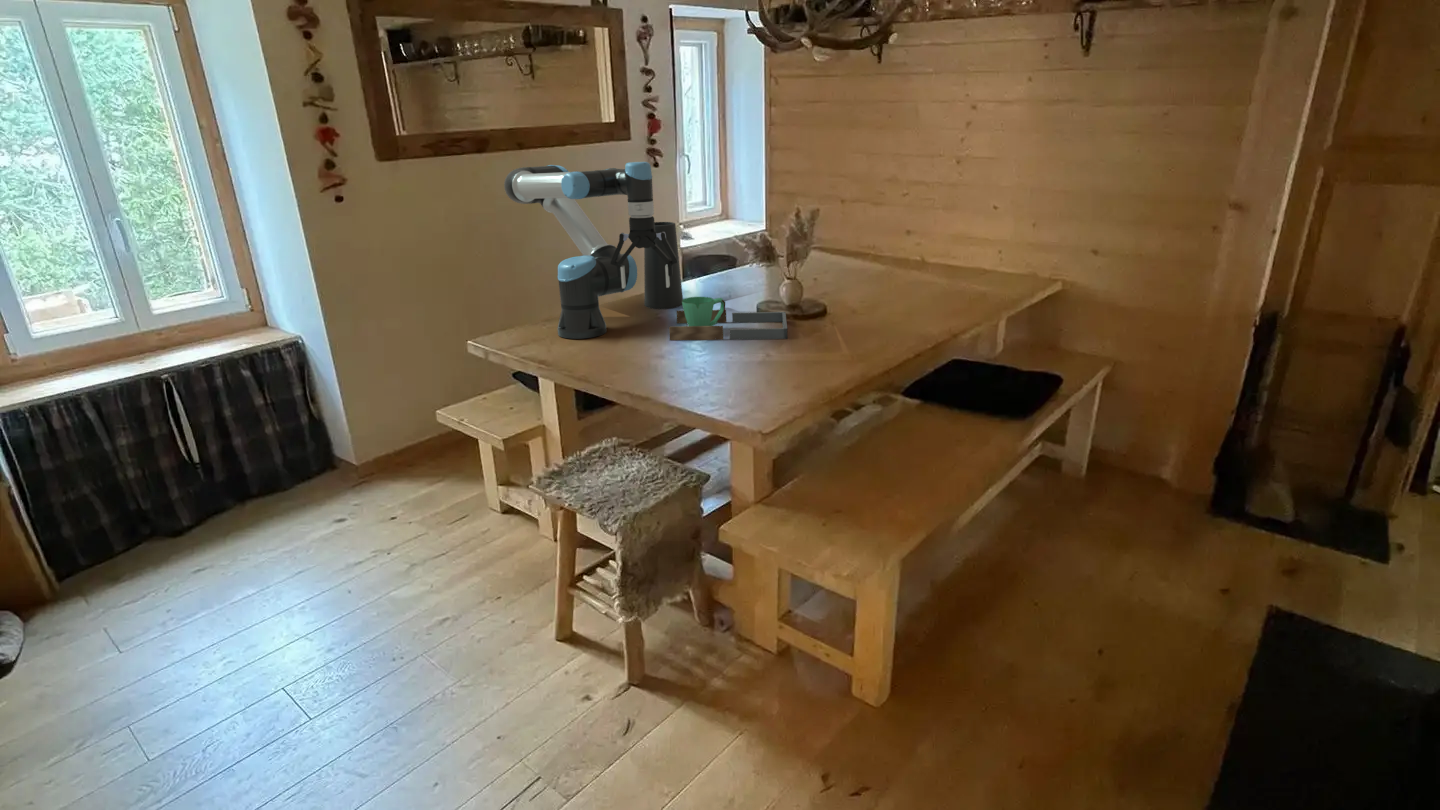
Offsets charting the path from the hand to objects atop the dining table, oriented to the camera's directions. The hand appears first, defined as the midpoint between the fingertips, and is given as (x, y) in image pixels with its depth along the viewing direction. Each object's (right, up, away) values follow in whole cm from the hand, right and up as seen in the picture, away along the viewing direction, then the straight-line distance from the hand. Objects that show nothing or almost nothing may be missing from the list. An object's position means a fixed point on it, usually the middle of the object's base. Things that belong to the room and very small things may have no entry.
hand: (645, 287), depth 243 cm
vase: (+3, -2, +37) cm, 37 cm away
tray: (+35, -13, +3) cm, 37 cm away
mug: (+18, -13, +4) cm, 23 cm away
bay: (+16, -13, +4) cm, 21 cm away
